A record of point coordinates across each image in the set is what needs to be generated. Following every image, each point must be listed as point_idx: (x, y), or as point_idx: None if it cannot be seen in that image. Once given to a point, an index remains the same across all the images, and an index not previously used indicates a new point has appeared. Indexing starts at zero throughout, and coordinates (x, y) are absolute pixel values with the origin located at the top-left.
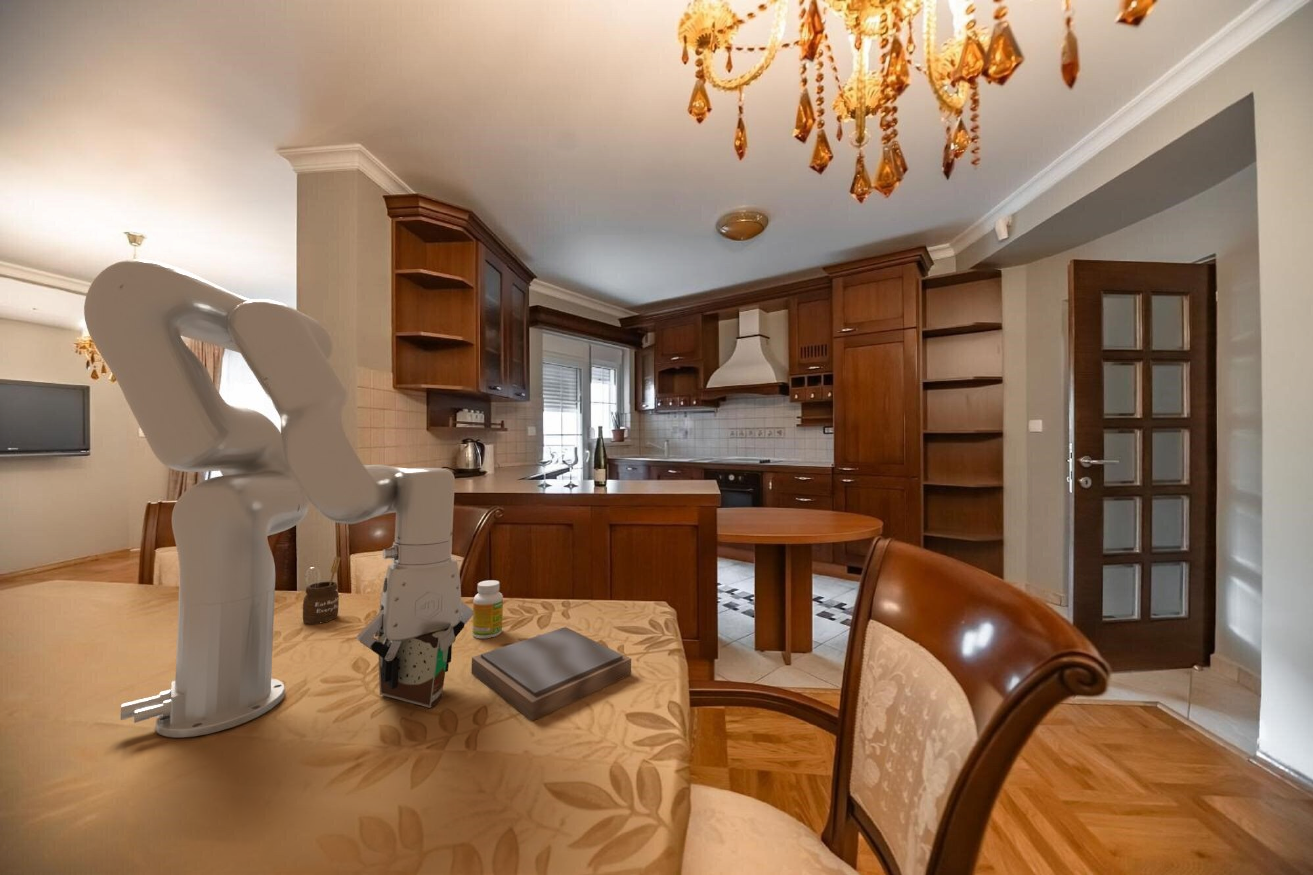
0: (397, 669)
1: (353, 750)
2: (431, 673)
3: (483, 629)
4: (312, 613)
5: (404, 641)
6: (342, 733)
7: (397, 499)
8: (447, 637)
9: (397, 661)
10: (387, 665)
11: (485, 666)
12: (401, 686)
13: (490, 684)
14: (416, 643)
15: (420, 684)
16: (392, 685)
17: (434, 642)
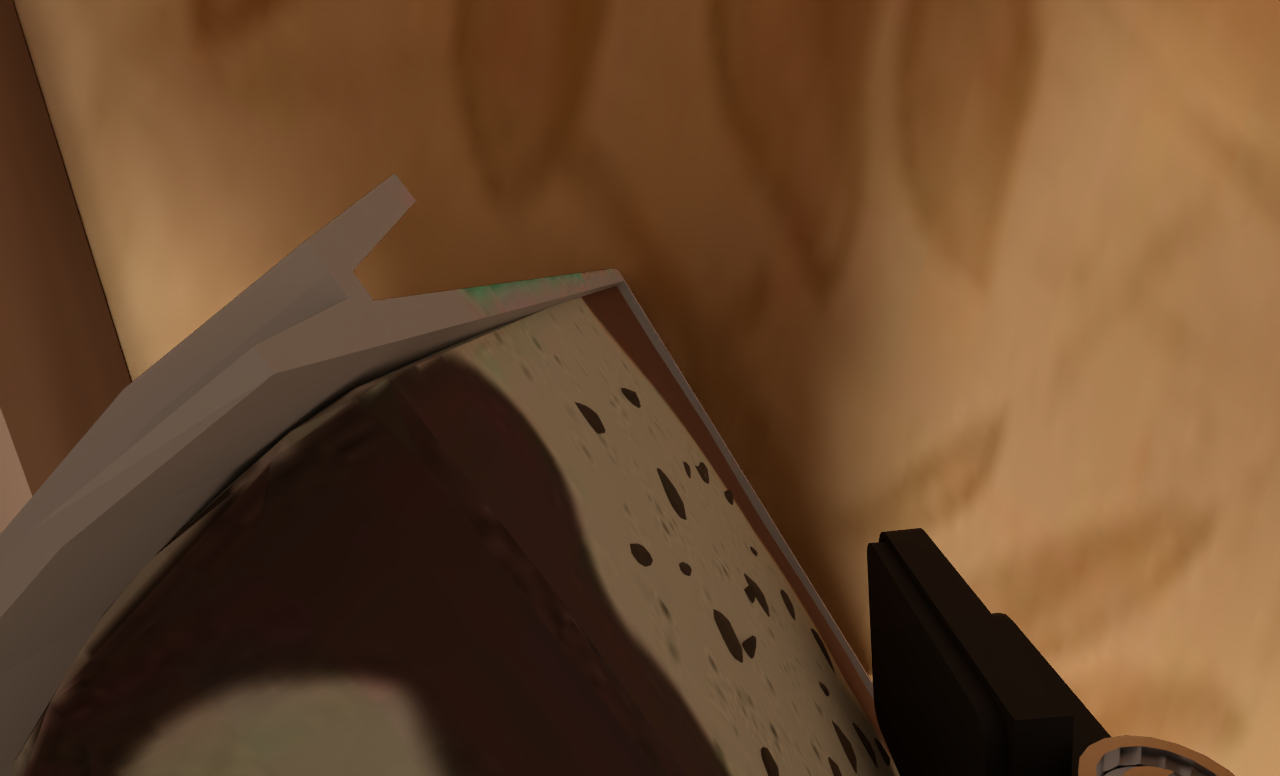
0: (944, 637)
1: (1231, 32)
2: (600, 342)
3: None
4: None
5: None
6: (1213, 333)
7: None
8: (56, 489)
9: (1002, 701)
10: (1080, 725)
11: (14, 474)
12: (797, 593)
13: (81, 309)
14: None
15: (686, 429)
16: (928, 541)
17: (502, 479)
